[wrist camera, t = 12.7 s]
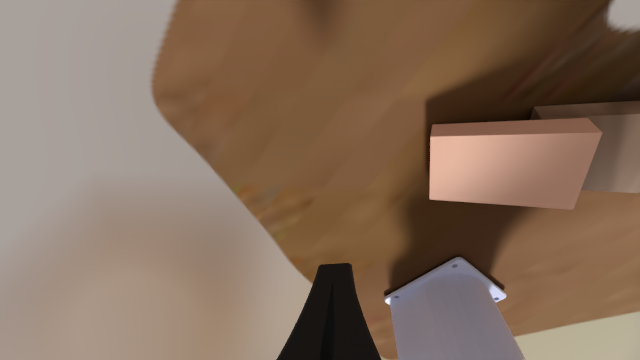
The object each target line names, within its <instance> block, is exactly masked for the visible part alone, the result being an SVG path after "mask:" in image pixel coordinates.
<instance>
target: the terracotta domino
mask: <svg viewBox="0 0 640 360" xmlns="http://www.w3.org/2000/svg"><path fill="white" fill-rule="evenodd" d="M602 133H603V132H602V131H601V130H599V129H598V128H597V127H596V126H595V125H594V124H593V123H592V122H591V121H590V120H589V119H588V118H571V119H548V120H525V121H501V122H478V123H455V124H432V130H431V136H430V196H429V199H430V200H444V201H459V202H473V203H487V204H501V205H515V206H529V207H543V208H557V209H571V210H573V209H574V207H575V204H576V201H577V199H578V196H579V193H580V191H581V188H582V185H583V183H584V180H585V178H586V175H587V172H588V170H589V167H590V164H591V162H592V159H593V156H594V154H595V151H596V149H597V146H598V143H599V141H600V138H601V135H602Z"/></svg>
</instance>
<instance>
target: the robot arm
mask: <svg viewBox="0 0 640 360" xmlns="http://www.w3.org/2000/svg"><path fill="white" fill-rule="evenodd" d="M506 296H507V295H506V294H505V292H504V291H503V290H502V289H500V288H499V287H498V286H497V285H495V284H494V283H493V282H492V281H490V280H489V279H488V278H487V277H486V276H484V275H483V274H482V273H481V272H479V271H478V270H477V269H476V268H474V267H473V266H472V265H471V264H470V263H468V262H467V261H466V260H465V259H463V258H462V257H456V258H454V259H452V260H450V261H448V262H446V263H445V264H443V265H441V266H439V267H437V268H436V269H434V270H432V271H430V272H428V273H427V274H425V275H423V276H421V277H419V278H418V279H416V280H414V281H412V282H410V283H409V284H407V285H405V286H403V287H401V288H400V289H398V290H396V291H394V292H392V293H391V294H389V295H387V296H385V298H384V299H385V302H386V303H387V304H389V305H390V309H391V315H392V321H393V327H394V334H395V340H396V346H397V352H398V359H399V360H526V359H525V358H524V356H523V354H522V352H521V350H520V348H519V346H518V344H517V342H516V340H515V339H514V337H513V335H512V333H511V331H510V329H509V327H508V325H507V323H506V322H505V320H504V318H503V316H502V314H501V312H500V310H499V308H498V306H497V305H496V303H495V302H498V301H500V300H502V299H504V298H506ZM277 360H381V358H380V355H379V353H378V351H377V349H376V346H375V344H374V342H373V339H372V337H371V334H370V332H369V329H368V327H367V324H366V321H365V319H364V316H363V313H362V310H361V307H360V304H359V301H358V298H357V294H356V290H355V284H354V278H353V272H352V265H351V264H349V263H342V264H324V265H320V266H319V267H318V270H317V274H316V277H315V280H314V283H313V285H312V288H311V291H310V293H309V296H308V298H307V301H306V303H305V305H304V307H303V310H302V312H301V314H300V316H299V319H298V321H297V323H296V324H295V327H294V329H293V331H292V333H291V335H290V337H289V338H288V340H287V342H286V344H285V346H284V348H283V349H282V351H281V353H280V355H279V356H278V358H277Z"/></svg>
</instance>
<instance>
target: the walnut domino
mask: <svg viewBox="0 0 640 360" xmlns="http://www.w3.org/2000/svg"><path fill="white" fill-rule="evenodd" d="M571 118H588V119H589V120H590V121H591V122H592V123H593V124H594V125H595V126H596V127H597V128H598V129H599V130H601V131H602V132H603V133H602V135H601V138H600V141H599V143H598V146H597V149H596V151H595V154H594V156H593V159H592V162H591V164H590V167H589V170H588V172H587V175H586V178H585V180H584V183H583V185H582V188H581V190H588V191H608V192H627V193H640V101H625V102H607V103H589V104H571V105H553V106H535V107H533V111H532V115H531V120H548V119H571Z"/></svg>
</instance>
